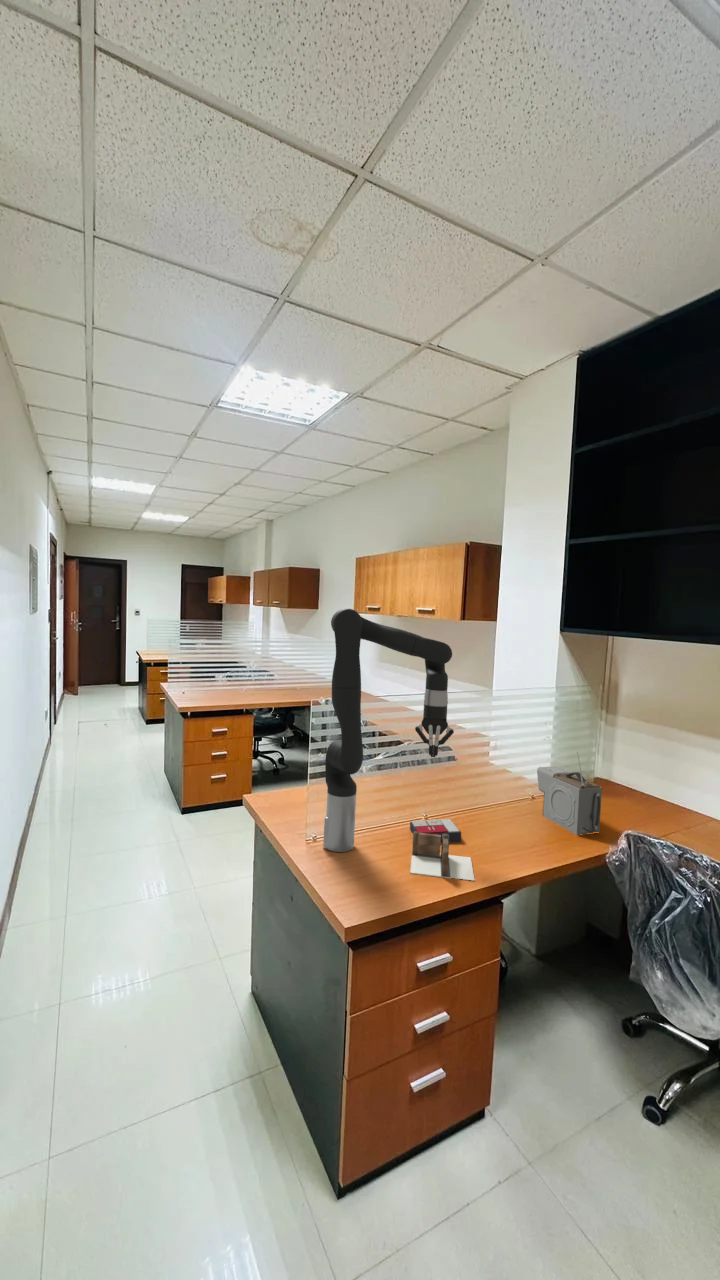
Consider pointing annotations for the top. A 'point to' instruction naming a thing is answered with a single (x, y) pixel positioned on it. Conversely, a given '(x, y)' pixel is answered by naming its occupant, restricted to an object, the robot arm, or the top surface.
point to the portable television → (570, 799)
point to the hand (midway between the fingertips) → (432, 756)
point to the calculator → (437, 828)
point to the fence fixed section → (428, 843)
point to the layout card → (432, 865)
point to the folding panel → (445, 857)
